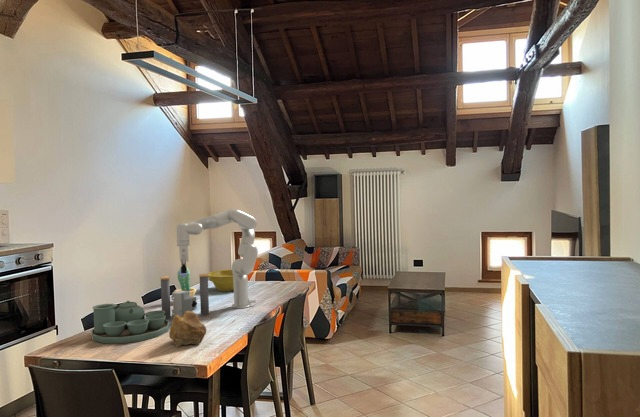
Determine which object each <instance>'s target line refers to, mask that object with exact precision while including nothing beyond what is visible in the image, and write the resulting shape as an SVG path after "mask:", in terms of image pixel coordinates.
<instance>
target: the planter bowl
mask: <svg viewBox="0 0 640 417" xmlns="http://www.w3.org/2000/svg"><path fill="white" fill-rule="evenodd" d="M206 274H208V281H210V282H212V283H213V285H214V287H215V288H216V289H217V290H218V291H219V292H220V291H221V292H231V291H234V281H233V272H232V269H222V270H221V269H220V270H215V271H211V272H207V273H206Z"/></svg>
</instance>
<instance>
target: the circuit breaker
mask: <svg viewBox="0 0 640 417" xmlns="http://www.w3.org/2000/svg"><path fill="white" fill-rule="evenodd" d="M171 301H172V307H173V309H172V310H171V315H172V318H174V316H175V315H178V316H180V317H182V316H183V314H184V312H186V311H192V312H194V311H195V310H197V305H198V302H197V297H196V296H194V297H190V292H189V291H176V292H174V291H173V292H172V293H171Z"/></svg>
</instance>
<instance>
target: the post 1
mask: <svg viewBox="0 0 640 417" xmlns="http://www.w3.org/2000/svg"><path fill="white" fill-rule="evenodd" d="M170 287H171V286H170V276H161V277H160V295H161V296H160V297H161V298H160V299H161V300H160V301H161V311H165V314H164V316H166V317H165V320H169V319H171V315H172V312H171V289H170Z"/></svg>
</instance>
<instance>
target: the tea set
mask: <svg viewBox="0 0 640 417" xmlns="http://www.w3.org/2000/svg"><path fill="white" fill-rule="evenodd" d="M91 309H93V329H92V330H91V339H92V340H93V341H94V342H98V343H102V344H127V343H134V342H135V343H136V342H141V341H145V340H149V339H153V338H158V337H159V336H161V335H163V334H165V333H167V332H168V330H169V328H170V326H171V325H170V324H171V323H170V321H169V320H168V319H165V317H166V316H164V314H165V311H162V309H161V310H158V309H157V310H150V311H147V312H145V310H144V308H143V307H142V306H141V305H138V303H137V302H135V301H130V300H126V301H125V302H122V303H120V304H119V305H118V304H115V303H102V304H96V305H93V306H92V307H91Z"/></svg>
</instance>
